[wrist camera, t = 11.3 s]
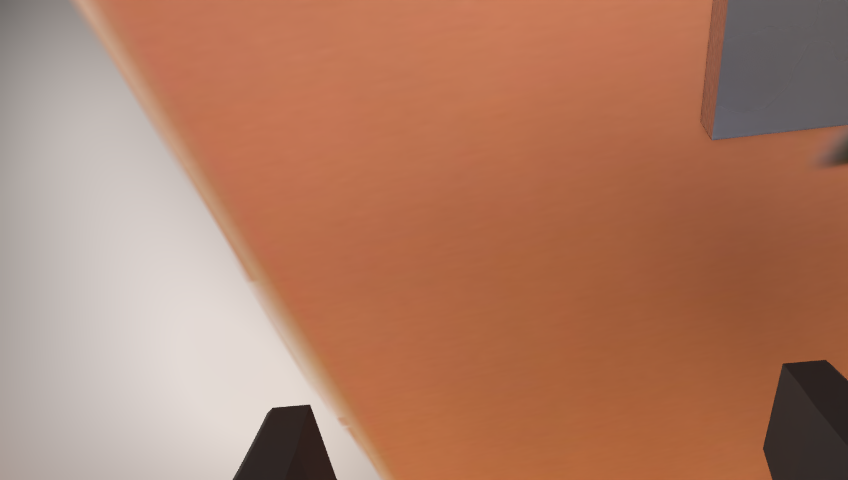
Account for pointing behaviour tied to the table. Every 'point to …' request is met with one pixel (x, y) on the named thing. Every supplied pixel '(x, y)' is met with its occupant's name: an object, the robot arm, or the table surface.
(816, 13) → the gauge bench
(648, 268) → the table surface
